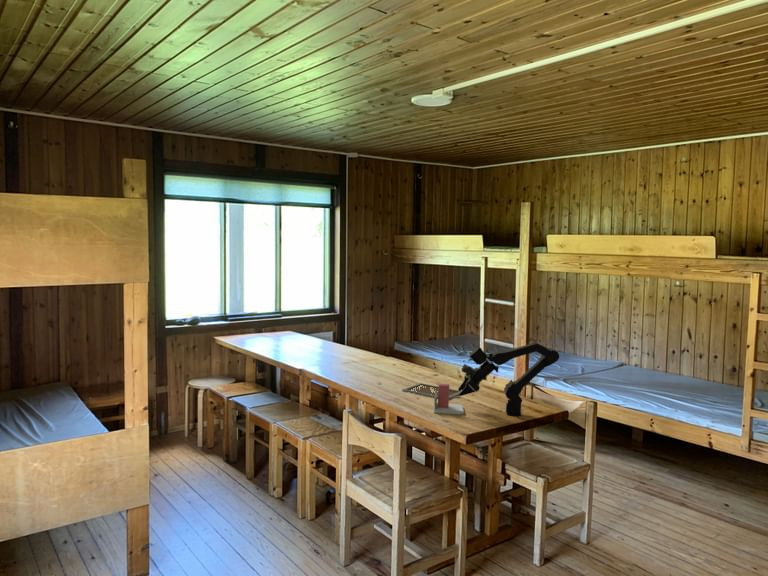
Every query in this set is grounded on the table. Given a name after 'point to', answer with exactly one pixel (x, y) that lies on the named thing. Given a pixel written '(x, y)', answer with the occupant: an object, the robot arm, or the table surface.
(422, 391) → the gray perforated panel
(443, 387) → the tall pink rectangular prism
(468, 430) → the table surface
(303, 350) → the table surface
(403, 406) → the table surface
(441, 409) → the shelf
